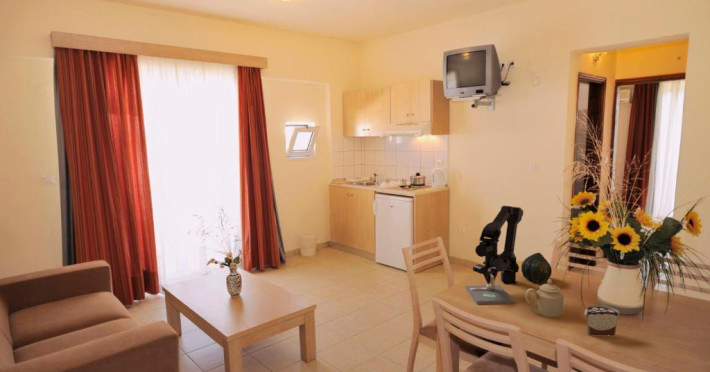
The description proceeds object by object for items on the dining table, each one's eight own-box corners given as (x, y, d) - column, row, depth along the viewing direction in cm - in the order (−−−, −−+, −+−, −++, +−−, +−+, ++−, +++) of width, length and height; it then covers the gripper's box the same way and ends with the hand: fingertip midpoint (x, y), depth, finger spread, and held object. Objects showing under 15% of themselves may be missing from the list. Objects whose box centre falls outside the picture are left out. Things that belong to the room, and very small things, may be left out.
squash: (521, 274, 211) (542, 252, 210) (511, 266, 226) (530, 245, 225) (542, 292, 212) (563, 270, 210) (531, 283, 227) (550, 262, 225)
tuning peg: (492, 287, 205) (493, 273, 205) (496, 291, 200) (496, 277, 200) (469, 287, 205) (469, 274, 204) (472, 291, 200) (472, 277, 199)
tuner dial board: (499, 287, 209) (499, 284, 209) (514, 303, 190) (514, 299, 190) (465, 288, 209) (465, 285, 209) (476, 304, 190) (476, 300, 190)
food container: (610, 328, 164) (612, 304, 163) (619, 336, 158) (620, 311, 157) (577, 328, 165) (579, 304, 164) (584, 335, 159) (586, 310, 158)
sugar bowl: (545, 322, 171) (547, 287, 169) (523, 312, 181) (524, 279, 179) (568, 313, 178) (570, 280, 176) (545, 304, 188) (546, 272, 186)
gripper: (490, 259, 189) (489, 292, 191) (518, 252, 198) (517, 284, 200) (472, 253, 199) (472, 285, 201) (499, 247, 208) (499, 277, 210)
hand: (490, 283), depth 202 cm, fingers closed on tuning peg, 2 cm apart
